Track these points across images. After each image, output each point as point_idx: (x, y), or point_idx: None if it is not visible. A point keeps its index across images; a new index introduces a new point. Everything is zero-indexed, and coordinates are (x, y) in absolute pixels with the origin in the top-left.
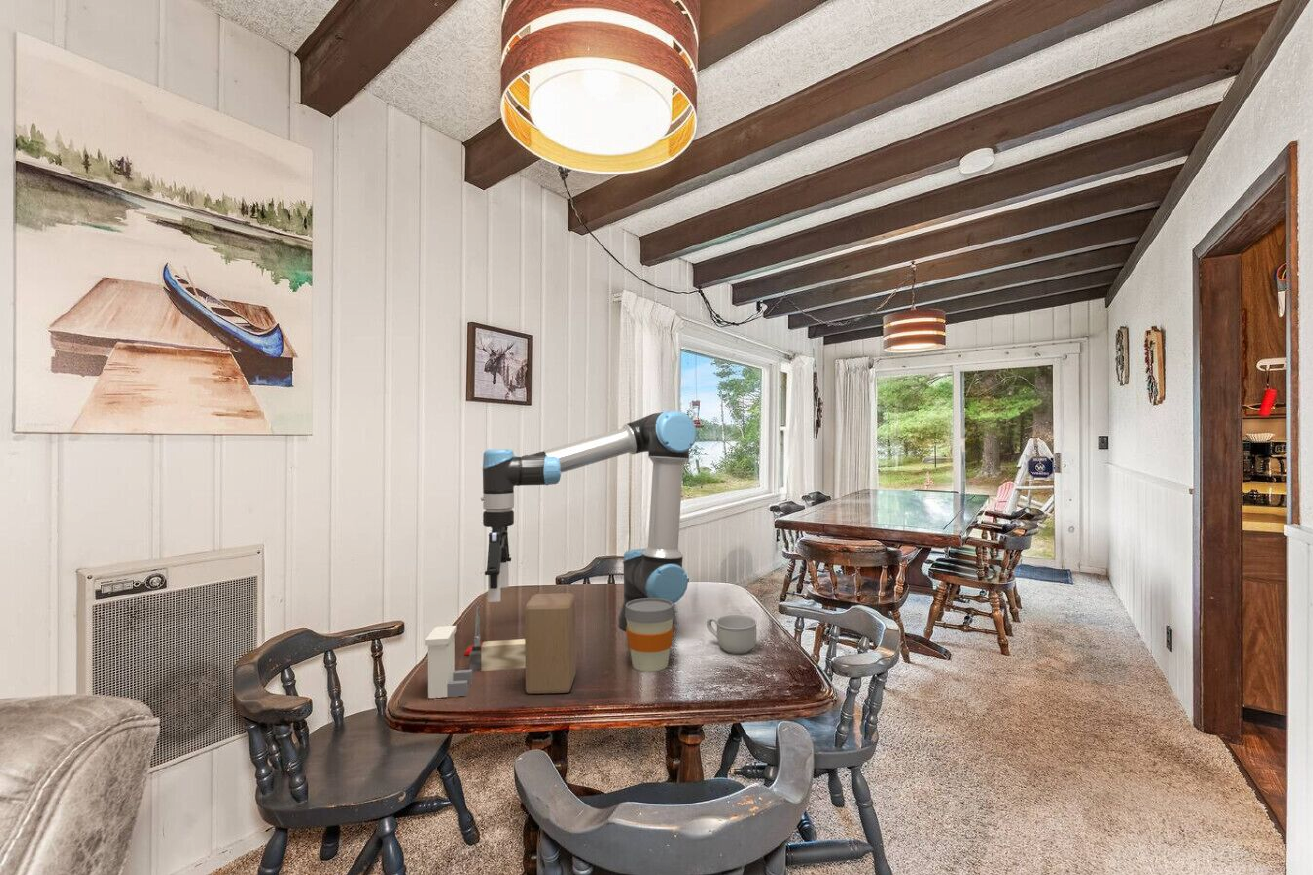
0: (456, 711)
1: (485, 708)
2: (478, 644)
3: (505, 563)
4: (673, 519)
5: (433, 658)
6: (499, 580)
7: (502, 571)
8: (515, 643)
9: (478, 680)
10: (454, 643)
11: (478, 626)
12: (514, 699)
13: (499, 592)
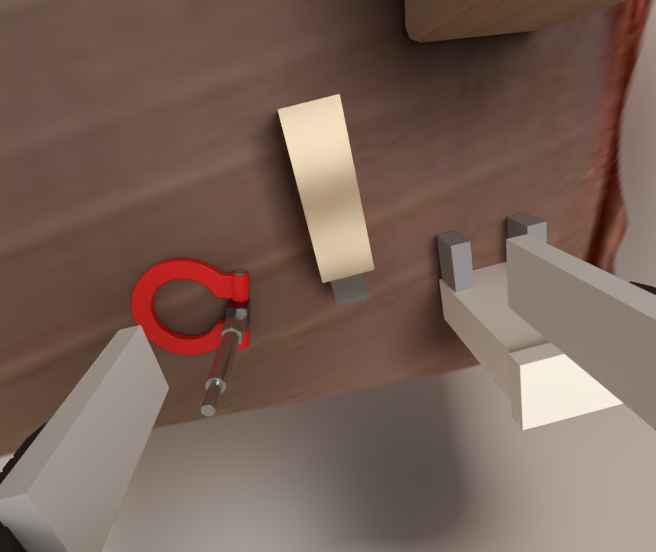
0: (602, 200)
1: (601, 129)
2: (241, 317)
3: (48, 506)
4: None
5: None
6: (650, 297)
7: (107, 452)
8: (337, 148)
9: (423, 223)
10: (493, 333)
11: (230, 352)
12: (561, 59)
13: (568, 256)
